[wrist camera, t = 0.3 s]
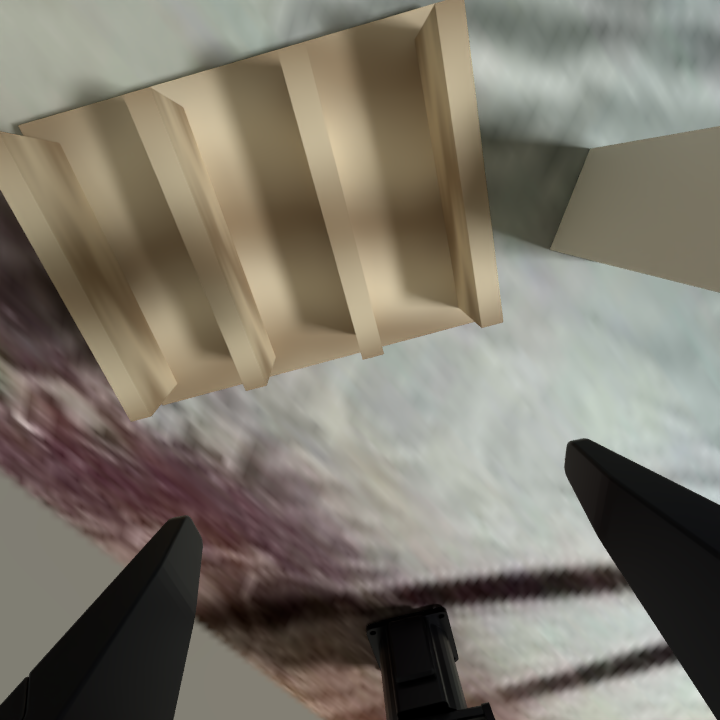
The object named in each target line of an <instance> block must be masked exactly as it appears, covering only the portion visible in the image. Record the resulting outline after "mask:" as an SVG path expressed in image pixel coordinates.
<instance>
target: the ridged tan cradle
mask: <svg viewBox="0 0 720 720" xmlns="http://www.w3.org/2000/svg"><path fill="white" fill-rule="evenodd" d="M18 126H19V128H20V130H21V132H22V134H23V136H21V135H16V134H11V133H5V132H0V190H1V192H2V193H3V195H4V197H5V199H6V200H7V202H8V204H9V206H10V208H11V209H12V211H13V213H14V215H15V216H16V218H17V220H18V222H19V224H20V225H21V227H22V229H23V231H24V232H25V234H26V236H27V238H28V240H29V241H30V243H31V245H32V247H33V248H34V250H35V252H36V254H37V256H38V257H39V259H40V261H41V263H42V264H43V266H44V268H45V270H46V271H47V273H48V275H49V277H50V279H51V280H52V282H53V284H54V286H55V287H56V289H57V291H58V293H59V295H60V296H61V298H62V300H63V302H64V303H65V305H66V307H67V309H68V311H69V312H70V314H71V316H72V318H73V319H74V321H75V323H76V325H77V327H78V328H79V330H80V332H81V334H82V335H83V337H84V339H85V341H86V343H87V344H88V346H89V348H90V350H91V351H92V353H93V355H94V357H95V359H96V360H97V362H98V364H99V366H100V367H101V369H102V371H103V373H104V375H105V376H106V378H107V380H108V382H109V383H110V385H111V387H112V389H113V390H114V392H115V394H116V396H117V398H118V399H119V401H120V403H121V405H122V406H123V408H124V410H125V412H126V414H127V415H128V417H129V419H130V421H131V422H132V421H136V420H139V419H143V418H147V417H150V416H152V415H153V414H154V412H155V411H156V410H157V409H158V407H159V406H160V405H161V404H162V405H166V404H169V403H173V402H177V401H181V400H184V399H188V398H192V397H196V396H199V395H203V394H207V393H210V392H214V391H218V390H222V389H225V388H229V387H233V386H237V385H240V384H243V385H244V388H245V390H246V391H248V390H252V389H255V388H259V387H263V386H267V383H268V380H269V377H270V376H274V375H278V374H281V373H285V372H289V371H293V370H296V369H300V368H304V367H308V366H311V365H315V364H319V363H322V362H326V361H330V360H334V359H337V358H341V357H345V356H349V355H352V354H356V353H360V352H361V355H362V358H363V360H364V359H368V358H371V357H375V356H379V355H383V354H384V352H383V348H382V346H386V345H390V344H393V343H397V342H401V341H405V340H408V339H412V338H416V337H420V336H423V335H427V334H431V333H434V332H438V331H442V330H446V329H449V328H453V327H457V326H461V325H464V324H468V323H472V322H476V323H477V324H478V325H479V326H480V327H481V328H484V327H487V326H491V325H495V324H499V323H502V322H503V315H502V307H501V299H500V291H499V282H498V274H497V266H496V258H495V250H494V241H493V233H492V225H491V217H490V208H489V200H488V192H487V184H486V176H485V167H484V159H483V151H482V143H481V135H480V126H479V118H478V110H477V102H476V94H475V85H474V77H473V69H472V61H471V52H470V44H469V36H468V28H467V20H466V11H465V3H464V0H445V1H442V2H438V3H435V4H432V5H428V6H425V7H421V8H418V9H415V10H411V11H408V12H404V13H401V14H397V15H394V16H391V17H387V18H384V19H380V20H377V21H373V22H370V23H367V24H363V25H360V26H356V27H353V28H350V29H346V30H343V31H339V32H336V33H332V34H329V35H326V36H322V37H319V38H315V39H312V40H308V41H305V42H302V43H298V44H295V45H291V46H288V47H285V48H281V49H278V50H274V51H271V52H267V53H264V54H261V55H257V56H254V57H250V58H247V59H244V60H240V61H237V62H233V63H230V64H226V65H223V66H220V67H216V68H213V69H209V70H206V71H202V72H199V73H196V74H192V75H189V76H185V77H182V78H179V79H175V80H172V81H168V82H165V83H161V84H158V85H155V86H151V87H148V88H144V89H141V90H138V91H134V92H131V93H127V94H124V95H120V96H117V97H114V98H110V99H107V100H103V101H100V102H96V103H93V104H90V105H86V106H83V107H79V108H76V109H73V110H69V111H66V112H62V113H59V114H55V115H52V116H49V117H45V118H42V119H38V120H35V121H31V122H28V123H25V124H21V125H18Z"/></svg>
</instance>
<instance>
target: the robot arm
mask: <svg viewBox="0 0 720 720" xmlns="http://www.w3.org/2000/svg"><path fill="white" fill-rule="evenodd" d="M564 468H565V473H566V476H567V478H568V480H569V482H570V484H571V486H572V488H573V490H574V492H575V494H576V496H577V498H578V500H579V501H580V503H581V505H582V507H583V509H584V511H585V513H586V515H587V517H588V519H589V521H590V523H591V525H592V527H593V529H594V530H595V532H596V534H597V536H598V538H599V539H600V541H601V542H602V544H603V546H604V547H605V549H606V550H607V552H608V553H609V555H610V556H611V558H612V559H613V561H614V563H615V564H616V566H617V567H618V569H619V570H620V572H621V573H622V575H623V576H624V578H625V579H626V581H627V582H628V584H629V586H630V587H631V589H632V590H633V592H634V593H635V595H636V596H637V598H638V599H639V601H640V602H641V604H642V605H643V607H644V609H645V610H646V612H647V613H648V615H649V616H650V618H651V619H652V621H653V622H654V624H655V625H656V627H657V628H658V630H659V631H660V633H661V635H662V636H663V638H664V639H665V641H666V642H667V644H668V645H669V647H670V648H671V650H672V651H673V653H674V654H675V656H676V658H677V659H678V661H679V662H680V664H681V665H682V667H683V668H684V670H685V671H686V673H687V674H688V676H689V677H690V679H691V680H692V682H693V684H694V685H695V687H696V688H697V690H698V691H699V693H700V694H701V696H702V697H703V699H704V700H705V702H706V703H707V705H708V707H709V708H710V710H711V711H712V713H713V714H714V716H715V717H716V719H717V720H720V505H719V504H717V503H715V502H713V501H711V500H709V499H707V498H705V497H703V496H701V495H699V494H697V493H695V492H693V491H691V490H689V489H687V488H685V487H683V486H681V485H679V484H677V483H675V482H673V481H671V480H669V479H667V478H665V477H663V476H661V475H659V474H657V473H655V472H653V471H651V470H649V469H647V468H645V467H643V466H641V465H639V464H637V463H635V462H633V461H631V460H629V459H627V458H625V457H623V456H621V455H619V454H617V453H615V452H613V451H611V450H609V449H607V448H605V447H603V446H601V445H599V444H597V443H595V442H593V441H591V440H589V439H586V438H583V439H578V440H573V441H570V442H568V444H567V447H566V456H565V465H564ZM202 549H203V543H202V538H201V536H200V534H199V532H198V530H197V528H196V527H195V525H194V523H193V521H192V519H191V518H190V517H189V516H186V515H185V516H180V517H174V518H171V519H169V520H168V521H167V522H166V523H165V524H164V525H163V526H162V527H161V529H160V530H159V531H158V532H157V533H156V534H155V535H154V536H153V537H152V539H151V540H150V541H149V542H148V543H147V544H146V545H145V546H144V547H143V548H142V550H141V551H140V552H139V553H138V554H137V555H136V556H135V557H134V558H133V559H132V561H131V562H130V563H129V564H128V565H127V566H126V567H125V568H124V569H123V571H122V572H121V573H120V574H119V575H118V576H117V577H116V579H114V581H113V582H112V583H111V584H110V585H109V586H108V587H107V588H106V589H105V590H104V592H103V593H102V594H101V595H100V596H99V597H98V598H97V599H96V600H95V601H94V603H93V604H92V605H91V606H90V607H89V608H88V609H87V610H86V612H84V614H83V615H82V616H81V617H80V618H79V619H78V620H77V621H76V622H75V623H74V625H73V626H72V627H71V628H70V629H69V630H68V631H67V632H66V633H65V635H64V636H63V637H62V638H61V639H60V640H59V641H58V642H57V643H56V644H55V646H54V647H53V648H52V649H51V650H50V651H49V652H48V653H47V654H46V655H45V657H44V658H43V659H42V660H41V661H40V662H39V663H38V664H37V666H36V667H35V668H34V669H33V670H32V671H31V672H30V674H29V677H26V678H24V680H23V681H22V682H21V683H20V684H19V685H18V686H17V687H16V688H15V690H14V691H13V692H12V693H11V694H10V695H9V696H8V697H7V698H6V699H5V701H4V702H3V703H2V704H1V705H0V720H173V718H174V714H175V709H176V704H177V700H178V695H179V690H180V685H181V681H182V676H183V671H184V667H185V662H186V657H187V652H188V648H189V643H190V638H191V633H192V629H193V624H194V618H195V612H196V605H197V596H198V586H199V577H200V568H201V558H202ZM366 632H367V637H368V639H369V642H370V644H371V647H372V649H373V652H374V655H375V657H376V660H377V662H378V665H379V668H380V670H381V674H382V683H383V692H384V701H385V710H386V719H387V720H495V718H494V715H493V712H492V710H491V707H490V704H489V702H488V703H483V704H481V706H476V707H471V708H467V705H466V701H465V698H464V694H463V690H462V687H461V683H460V679H459V676H458V672H457V668H456V665H455V662H456V661H457V660H458V654H457V650H456V646H455V642H454V638H453V634H452V630H451V627H450V623H449V619H448V615H447V611H446V609H445V608H444V607H438V608H434V609H430V610H426V611H422V612H417V613H413V614H409V615H405V616H401V617H397V618H393V619H389V620H385V621H381V622H377V623H373V624H370V625H368V626H367V627H366Z"/></svg>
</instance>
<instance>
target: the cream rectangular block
mask: <svg viewBox="0 0 720 720" xmlns="http://www.w3.org/2000/svg"><path fill="white" fill-rule="evenodd" d="M550 250H552V251H556V252H560V253H564V254H568V255H572V256H576V257H580V258H583V259H587V260H591V261H595V262H599V263H603V264H607V265H611V266H615V267H619V268H623V269H627V270H631V271H635V272H639V273H643V274H647V275H651V276H655V277H659V278H663V279H666V280H670V281H674V282H678V283H682V284H686V285H690V286H694V287H698V288H702V289H706V290H710V291H714V292H718V293H720V126H718V127H712V128H706V129H701V130H695V131H689V132H683V133H678V134H672V135H666V136H660V137H655V138H649V139H643V140H637V141H632V142H626V143H620V144H614V145H609V146H603V147H597V148H592V149H590V150H589V153H588V155H587V158H586V160H585V163H584V165H583V168H582V170H581V173H580V175H579V178H578V180H577V183H576V185H575V188H574V190H573V193H572V195H571V198H570V200H569V203H568V205H567V208H566V210H565V213H564V215H563V218H562V221H561V223H560V226H559V228H558V231H557V233H556V236H555V238H554V241H553V243H552V246H551V248H550Z"/></svg>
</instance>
